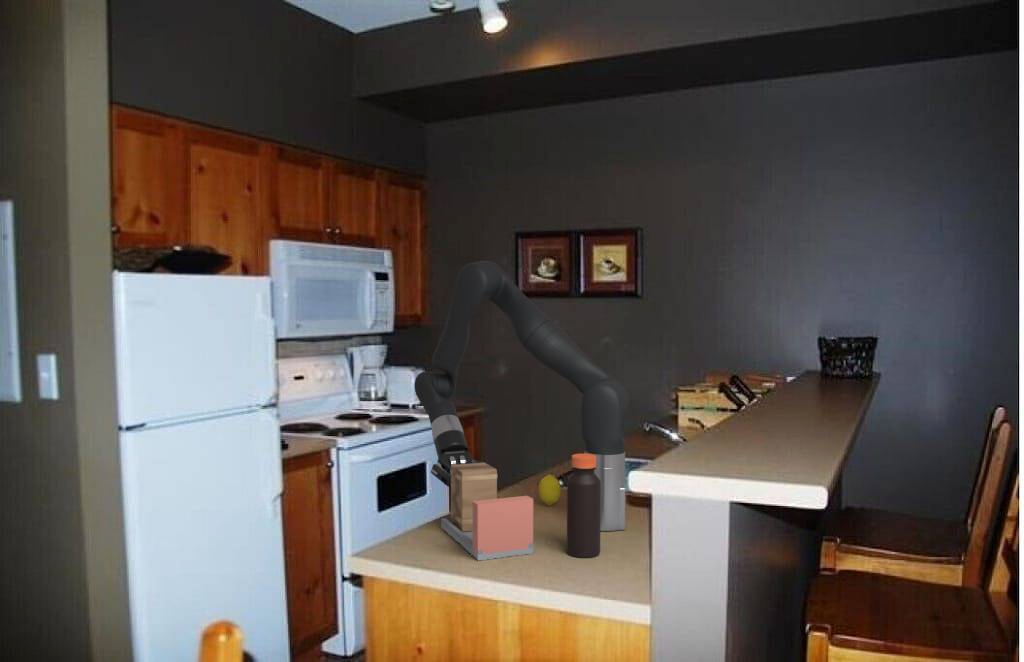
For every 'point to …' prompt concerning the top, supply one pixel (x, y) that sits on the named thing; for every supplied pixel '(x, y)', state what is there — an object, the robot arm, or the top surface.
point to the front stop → (502, 524)
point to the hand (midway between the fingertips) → (465, 499)
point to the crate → (470, 491)
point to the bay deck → (467, 543)
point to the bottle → (583, 508)
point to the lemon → (549, 490)
